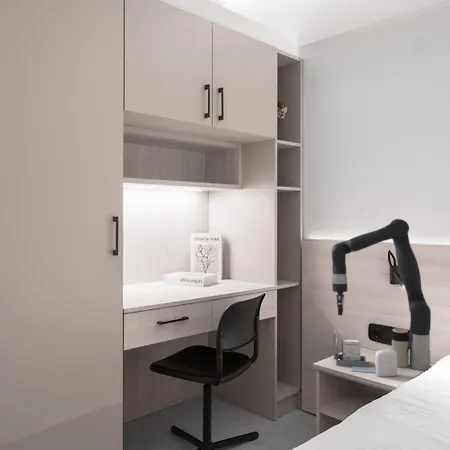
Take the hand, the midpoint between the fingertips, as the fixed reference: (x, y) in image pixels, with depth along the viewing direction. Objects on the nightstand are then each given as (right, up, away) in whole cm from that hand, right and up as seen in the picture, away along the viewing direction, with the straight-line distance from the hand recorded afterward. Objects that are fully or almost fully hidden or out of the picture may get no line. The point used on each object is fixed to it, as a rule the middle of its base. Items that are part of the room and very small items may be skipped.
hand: (340, 313), depth 246 cm
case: (+5, -25, -2) cm, 26 cm away
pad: (+8, -26, -12) cm, 29 cm away
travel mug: (+29, -26, -5) cm, 39 cm away
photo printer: (+17, -26, -20) cm, 37 cm away
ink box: (+5, -26, -2) cm, 26 cm away
